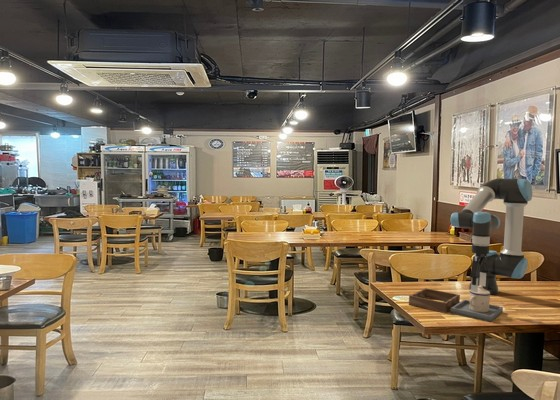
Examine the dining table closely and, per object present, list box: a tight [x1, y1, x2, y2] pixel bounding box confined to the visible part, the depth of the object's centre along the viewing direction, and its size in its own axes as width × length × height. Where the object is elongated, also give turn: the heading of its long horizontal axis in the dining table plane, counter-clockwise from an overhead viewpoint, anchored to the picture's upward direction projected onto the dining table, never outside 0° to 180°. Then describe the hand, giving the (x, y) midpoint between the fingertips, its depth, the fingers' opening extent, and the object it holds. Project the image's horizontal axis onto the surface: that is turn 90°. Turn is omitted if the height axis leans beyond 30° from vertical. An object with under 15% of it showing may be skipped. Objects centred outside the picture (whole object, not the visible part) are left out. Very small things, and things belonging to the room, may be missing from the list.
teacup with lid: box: [468, 286, 491, 313], centre depth 205 cm, size 12×9×12 cm
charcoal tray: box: [450, 299, 504, 323], centre depth 205 cm, size 20×18×2 cm
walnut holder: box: [408, 287, 461, 314], centre depth 217 cm, size 21×18×4 cm
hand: (478, 288), depth 204 cm, fingers open, 13 cm apart
